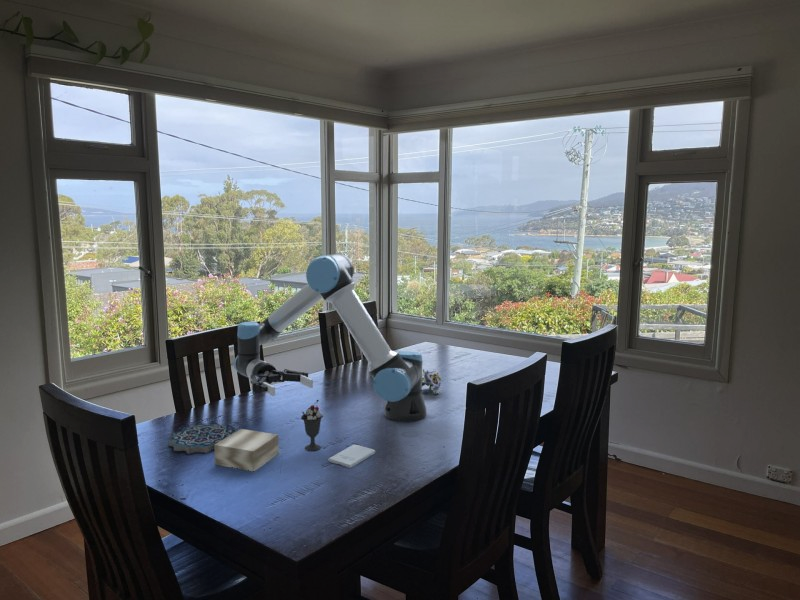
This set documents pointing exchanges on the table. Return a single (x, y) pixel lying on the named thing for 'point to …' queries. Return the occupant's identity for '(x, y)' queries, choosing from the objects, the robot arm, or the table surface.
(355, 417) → the table surface
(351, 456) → the external hard drive
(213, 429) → the decorative tile
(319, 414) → the sundae
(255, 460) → the block
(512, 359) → the table surface
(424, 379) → the passion flower
